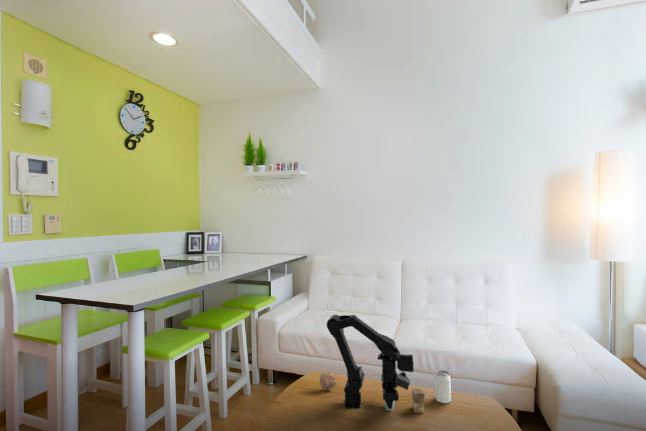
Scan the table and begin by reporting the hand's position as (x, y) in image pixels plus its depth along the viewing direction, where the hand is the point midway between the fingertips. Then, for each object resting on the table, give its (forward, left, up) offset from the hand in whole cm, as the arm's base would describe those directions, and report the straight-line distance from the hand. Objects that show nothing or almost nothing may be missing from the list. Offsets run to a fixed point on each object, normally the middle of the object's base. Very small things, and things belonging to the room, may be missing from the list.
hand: (389, 406), depth 145 cm
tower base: (+12, 0, -1) cm, 12 cm away
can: (+24, +9, -1) cm, 26 cm away
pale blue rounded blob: (0, 0, -1) cm, 1 cm away
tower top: (+12, 0, +3) cm, 12 cm away
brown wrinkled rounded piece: (-28, +13, -1) cm, 31 cm away
